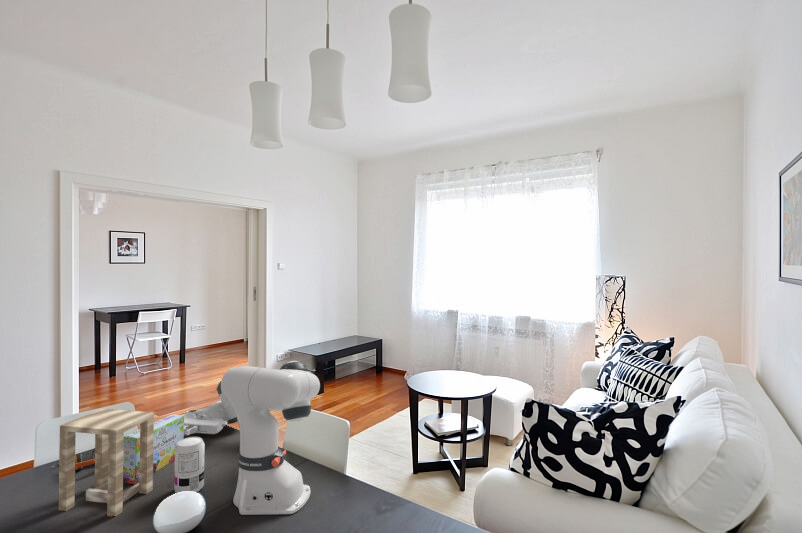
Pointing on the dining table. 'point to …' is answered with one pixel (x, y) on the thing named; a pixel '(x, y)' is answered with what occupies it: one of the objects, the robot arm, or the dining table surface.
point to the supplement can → (189, 465)
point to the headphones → (80, 464)
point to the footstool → (106, 457)
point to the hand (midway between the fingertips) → (183, 433)
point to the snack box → (163, 447)
